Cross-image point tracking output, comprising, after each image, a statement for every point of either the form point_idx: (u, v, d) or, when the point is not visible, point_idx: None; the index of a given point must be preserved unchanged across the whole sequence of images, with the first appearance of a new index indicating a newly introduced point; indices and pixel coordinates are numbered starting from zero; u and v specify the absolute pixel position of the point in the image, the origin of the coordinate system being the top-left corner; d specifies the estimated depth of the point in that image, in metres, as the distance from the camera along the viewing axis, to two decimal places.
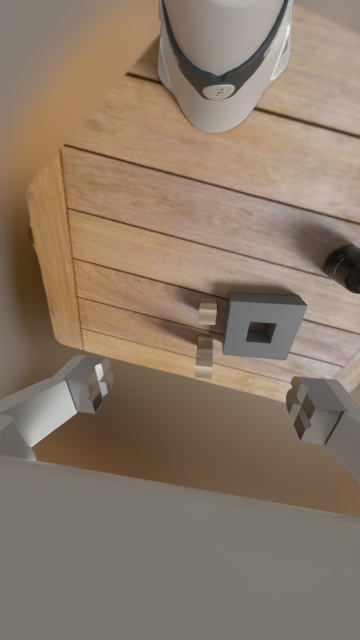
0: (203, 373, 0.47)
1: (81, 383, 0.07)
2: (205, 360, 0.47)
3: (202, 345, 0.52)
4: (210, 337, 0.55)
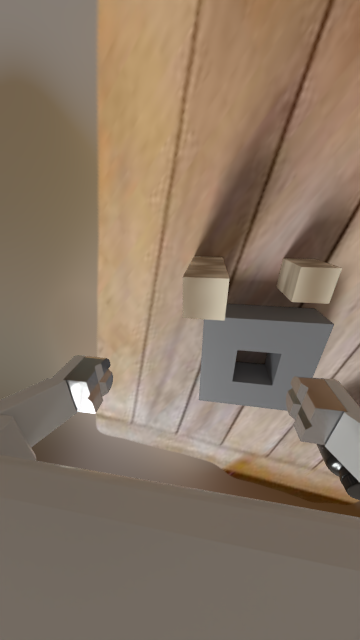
0: (199, 300, 0.18)
1: (81, 384, 0.07)
2: None
3: None
4: None
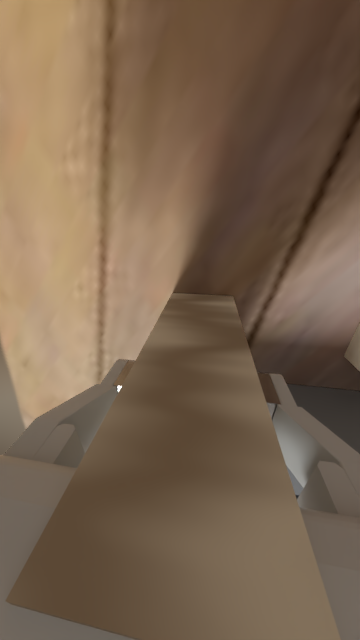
0: None
1: None
2: None
3: None
4: None
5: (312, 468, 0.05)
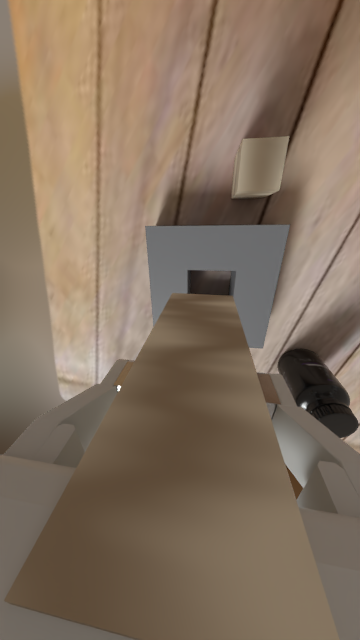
0: None
1: None
2: None
3: None
4: None
5: (312, 468, 0.05)
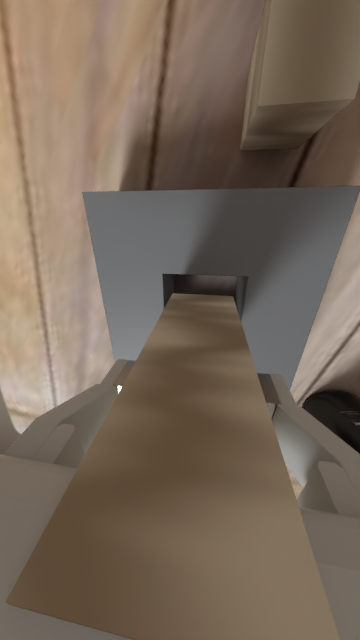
0: None
1: None
2: None
3: None
4: None
5: (312, 468, 0.05)
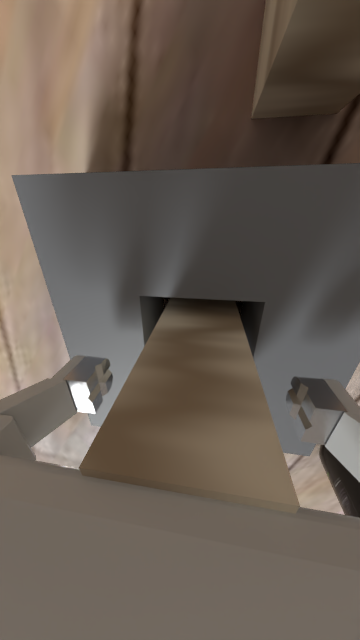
0: None
1: (81, 384, 0.07)
2: None
3: None
4: None
5: None
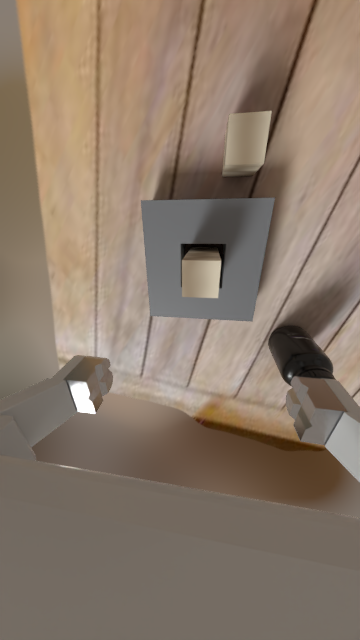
0: (196, 280, 0.21)
1: (81, 384, 0.07)
2: None
3: None
4: None
5: None
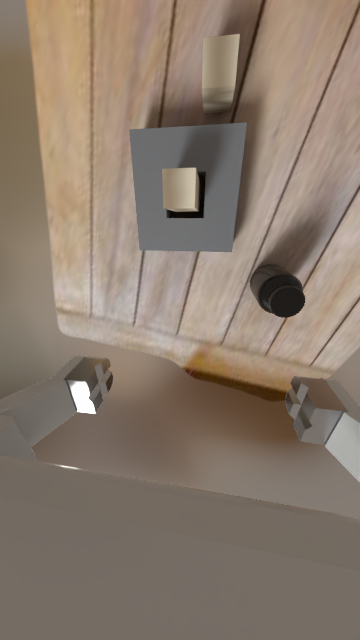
0: (175, 189, 0.23)
1: (81, 384, 0.07)
2: (196, 194, 0.25)
3: None
4: (199, 208, 0.34)
5: None
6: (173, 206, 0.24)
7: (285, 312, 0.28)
